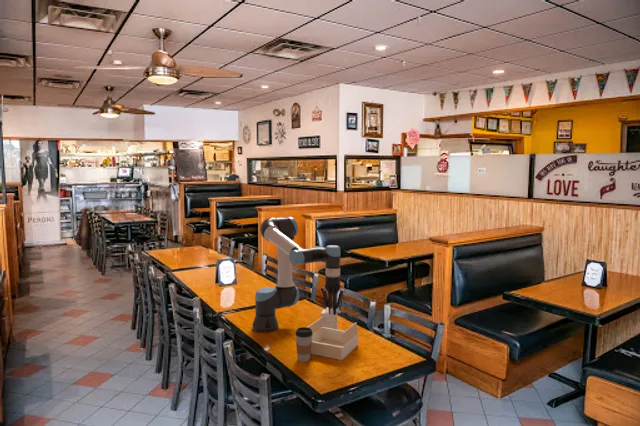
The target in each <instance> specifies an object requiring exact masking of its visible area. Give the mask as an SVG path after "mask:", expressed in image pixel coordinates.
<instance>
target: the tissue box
mask: <svg viewBox="0 0 640 426" xmlns="http://www.w3.org/2000/svg"><path fill="white" fill-rule="evenodd" d="M321 317H323V323H322V327H326V328H331V329H337V330H338V310H337V311H336V315H335V320H334V321H330V314H329V308H328V307H325V308H324V309H322V311H321V312H320V318H321Z"/></svg>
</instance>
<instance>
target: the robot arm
mask: <svg viewBox="0 0 640 426" xmlns="http://www.w3.org/2000/svg"><path fill="white" fill-rule="evenodd" d="M259 227H260V228H259V232H260V234H261V235H260V236H262V238H263V239H264V240H266V241H267V242H271V243H272V244H273V245H275V246H276V247H277V282H276V284H275V287H274V286H264V287H261V288H259V289H257V290H256V292H255V297H254V298H255V301H254V302H255V303H254V304H255V306H254V307H255V313H254V314H255V315H254V319H253V322H252V327H251V328H252V331H255V332H256V333H257V332H258V333H272V332H276V331H278V330H279V323H278V319H277V316H276V310H278V309H282V308H283V309H284V308H287V307H289V308H290V307H292V306H295V305H296V304H297V303H299V300H300V291H299V288H298V287H297V286H296V284H295V282H294V281H293V266H297V265H298V266H300V265H306V264H314V263H320V262H321V263H325V284H324V286H323V287H321V288H320V291H321V293H322V297H323V302H324V305H325V308H327V307H328V308H329V314H330V321H334V320H335V315H336V311H337V312H338V309H339V308H340V307H341V305H342V301H343V300H342V299H343V296H344V293H346V290H345V289H343V288H342V287H341V255H342V254H341V247H340V246H339V245H335V244H334V245H332V244H331V245H330V244H329V245H326V247H324V246H317V245H315V246H313V247H310V248H303V247H302V246H300V245H298V243H296V242H295V241H294V240H295V236H297V235H298V232H299V225H298V223H297V220H296V218H294V217H292V216H277V217H268V218H266V219H264V220H263V221H262V222H261V224H260V226H259ZM338 292H339V295H338Z"/></svg>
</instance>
